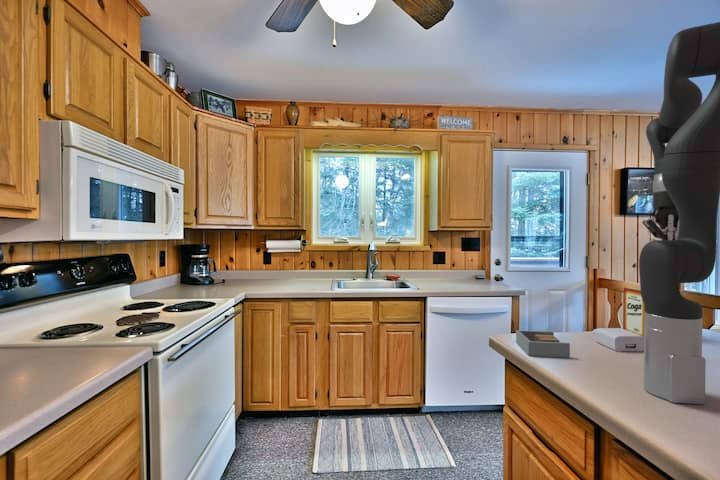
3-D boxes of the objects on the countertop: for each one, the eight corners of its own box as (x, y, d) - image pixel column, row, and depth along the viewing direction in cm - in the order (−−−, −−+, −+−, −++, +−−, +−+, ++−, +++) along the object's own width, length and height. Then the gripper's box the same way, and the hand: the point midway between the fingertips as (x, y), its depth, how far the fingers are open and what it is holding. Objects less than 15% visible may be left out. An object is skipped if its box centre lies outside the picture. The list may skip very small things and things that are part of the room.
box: (569, 357, 95) (569, 343, 95) (528, 356, 97) (528, 342, 97) (552, 344, 107) (552, 331, 107) (516, 342, 109) (516, 330, 109)
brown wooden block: (559, 354, 99) (559, 340, 99) (540, 353, 100) (540, 339, 100) (552, 348, 104) (552, 335, 104) (535, 347, 105) (535, 334, 105)
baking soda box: (623, 331, 121) (623, 286, 120) (641, 331, 121) (642, 286, 120) (645, 340, 111) (646, 290, 111) (665, 339, 111) (666, 290, 111)
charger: (610, 336, 115) (646, 352, 100) (582, 337, 115) (615, 352, 100) (610, 322, 115) (647, 336, 100) (582, 323, 115) (615, 336, 100)
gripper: (653, 189, 90) (652, 255, 90) (710, 187, 88) (710, 255, 88) (634, 192, 97) (634, 253, 98) (687, 191, 95) (687, 253, 96)
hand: (670, 254), depth 93 cm, fingers closed
